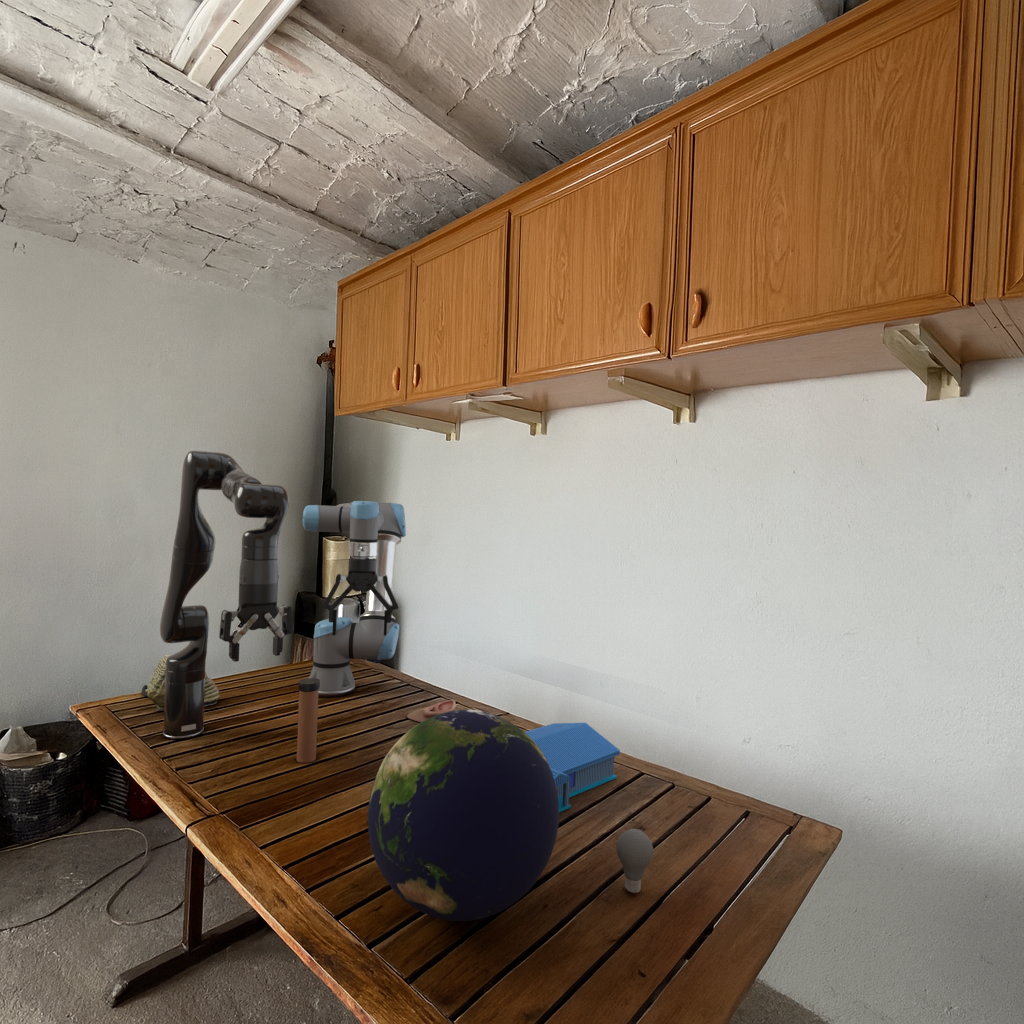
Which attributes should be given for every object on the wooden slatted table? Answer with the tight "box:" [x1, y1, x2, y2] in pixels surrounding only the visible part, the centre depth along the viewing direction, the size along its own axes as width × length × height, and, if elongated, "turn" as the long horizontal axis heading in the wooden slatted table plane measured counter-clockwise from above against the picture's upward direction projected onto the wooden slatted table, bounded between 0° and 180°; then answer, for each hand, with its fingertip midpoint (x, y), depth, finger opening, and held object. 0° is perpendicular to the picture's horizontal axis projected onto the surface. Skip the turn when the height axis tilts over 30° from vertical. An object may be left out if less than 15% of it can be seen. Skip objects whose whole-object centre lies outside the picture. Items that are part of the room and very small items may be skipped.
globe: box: [367, 709, 560, 922], centre depth 100 cm, size 30×30×30 cm
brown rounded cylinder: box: [296, 689, 319, 764], centre depth 152 cm, size 4×4×18 cm
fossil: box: [147, 654, 221, 712], centre depth 185 cm, size 9×18×15 cm, turn 132°
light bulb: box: [615, 828, 654, 894], centre depth 106 cm, size 6×6×10 cm
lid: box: [297, 677, 320, 691], centre depth 152 cm, size 5×5×2 cm
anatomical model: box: [406, 699, 457, 723], centre depth 185 cm, size 13×4×12 cm
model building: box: [524, 722, 621, 813], centre depth 143 cm, size 39×24×10 cm, turn 132°
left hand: (256, 657), depth 132 cm, fingers open, 8 cm apart
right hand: (359, 634), depth 174 cm, fingers open, 13 cm apart
